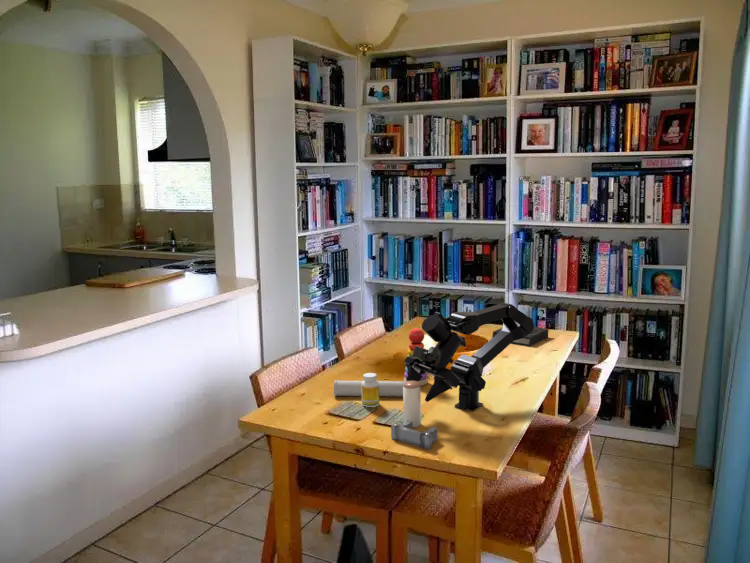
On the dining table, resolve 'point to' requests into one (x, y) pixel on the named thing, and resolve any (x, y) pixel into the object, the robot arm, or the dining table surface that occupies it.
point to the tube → (355, 390)
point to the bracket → (414, 435)
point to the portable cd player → (530, 337)
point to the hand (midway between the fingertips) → (415, 396)
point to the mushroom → (412, 402)
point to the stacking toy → (416, 340)
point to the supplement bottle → (370, 390)
